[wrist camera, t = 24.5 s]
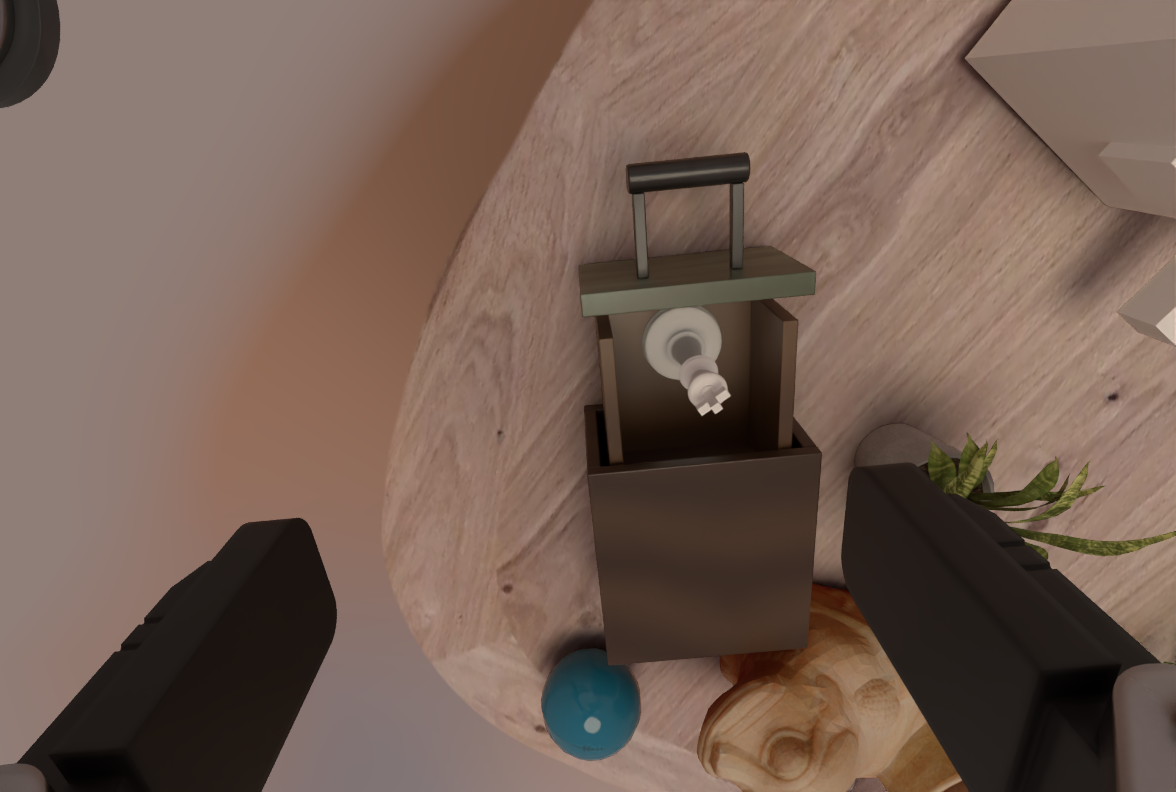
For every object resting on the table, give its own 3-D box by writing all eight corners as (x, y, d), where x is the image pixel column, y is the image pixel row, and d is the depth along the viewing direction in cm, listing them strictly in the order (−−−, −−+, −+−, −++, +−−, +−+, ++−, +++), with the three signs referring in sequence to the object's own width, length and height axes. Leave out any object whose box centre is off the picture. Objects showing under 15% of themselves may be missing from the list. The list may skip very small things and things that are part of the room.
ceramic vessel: (698, 549, 46) (751, 724, 33) (1003, 595, 49) (1170, 774, 35) (655, 676, 52) (685, 871, 38) (932, 710, 55) (1052, 905, 41)
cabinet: (584, 405, 41) (587, 474, 33) (771, 387, 41) (822, 452, 33) (601, 572, 47) (608, 666, 39) (765, 556, 47) (807, 648, 39)
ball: (630, 696, 53) (640, 786, 45) (540, 692, 52) (535, 783, 45) (641, 628, 50) (653, 713, 42) (545, 623, 49) (541, 709, 42)
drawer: (568, 165, 34) (567, 173, 27) (774, 144, 34) (824, 147, 27) (597, 456, 42) (602, 517, 35) (765, 440, 42) (802, 499, 35)
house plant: (1048, 404, 42) (1311, 553, 27) (934, 553, 47) (1103, 747, 32) (877, 335, 40) (1063, 457, 25) (777, 499, 45) (880, 683, 30)
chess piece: (735, 345, 38) (788, 414, 28) (672, 391, 39) (703, 471, 30) (691, 286, 36) (731, 338, 27) (626, 335, 37) (644, 401, 28)
